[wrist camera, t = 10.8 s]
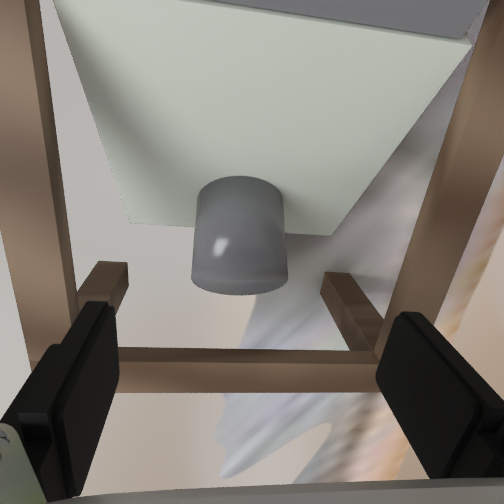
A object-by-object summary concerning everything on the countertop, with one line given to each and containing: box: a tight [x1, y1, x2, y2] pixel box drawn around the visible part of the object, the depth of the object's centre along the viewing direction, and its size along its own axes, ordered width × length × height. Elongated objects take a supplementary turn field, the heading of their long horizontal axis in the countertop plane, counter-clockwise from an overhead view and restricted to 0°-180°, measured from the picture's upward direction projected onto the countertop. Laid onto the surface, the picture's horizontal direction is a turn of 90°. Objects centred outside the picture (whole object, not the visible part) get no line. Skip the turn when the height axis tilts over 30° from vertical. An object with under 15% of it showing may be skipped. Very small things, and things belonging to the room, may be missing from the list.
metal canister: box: [191, 176, 288, 295], centre depth 19 cm, size 5×5×5 cm
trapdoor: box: [53, 0, 488, 236], centre depth 16 cm, size 17×14×2 cm
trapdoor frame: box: [0, 0, 504, 393], centre depth 17 cm, size 22×19×10 cm
